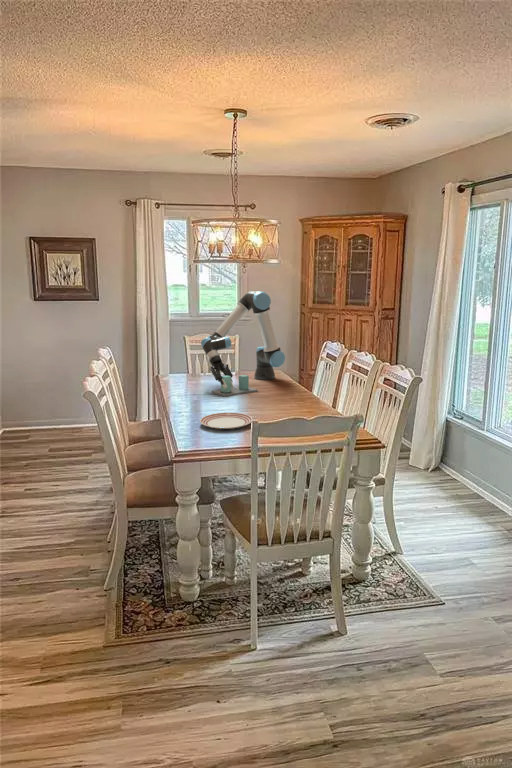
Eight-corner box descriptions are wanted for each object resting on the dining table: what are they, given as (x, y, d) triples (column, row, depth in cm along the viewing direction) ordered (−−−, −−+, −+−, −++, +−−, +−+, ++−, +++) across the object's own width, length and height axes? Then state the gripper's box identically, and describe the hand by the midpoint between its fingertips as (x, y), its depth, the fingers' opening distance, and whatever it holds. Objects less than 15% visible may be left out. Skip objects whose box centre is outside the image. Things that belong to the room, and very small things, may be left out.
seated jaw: (244, 389, 392) (244, 374, 390) (248, 390, 388) (248, 375, 386) (238, 390, 389) (238, 375, 387) (243, 391, 385) (242, 376, 383)
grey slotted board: (244, 387, 397) (244, 386, 397) (257, 391, 387) (257, 389, 386) (212, 393, 382) (212, 391, 382) (224, 397, 371) (224, 395, 371)
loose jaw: (227, 390, 383) (226, 375, 381) (231, 391, 380) (230, 376, 377) (221, 391, 380) (220, 376, 378) (225, 392, 377) (224, 377, 375)
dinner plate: (240, 435, 292) (240, 428, 291) (190, 429, 302) (190, 423, 301) (260, 420, 317) (260, 414, 316) (213, 416, 327) (213, 410, 326)
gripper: (223, 360, 394) (238, 389, 384) (200, 363, 383) (215, 392, 374) (227, 353, 388) (243, 382, 379) (205, 356, 378) (220, 386, 368)
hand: (229, 387), depth 376 cm, fingers closed on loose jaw, 5 cm apart
